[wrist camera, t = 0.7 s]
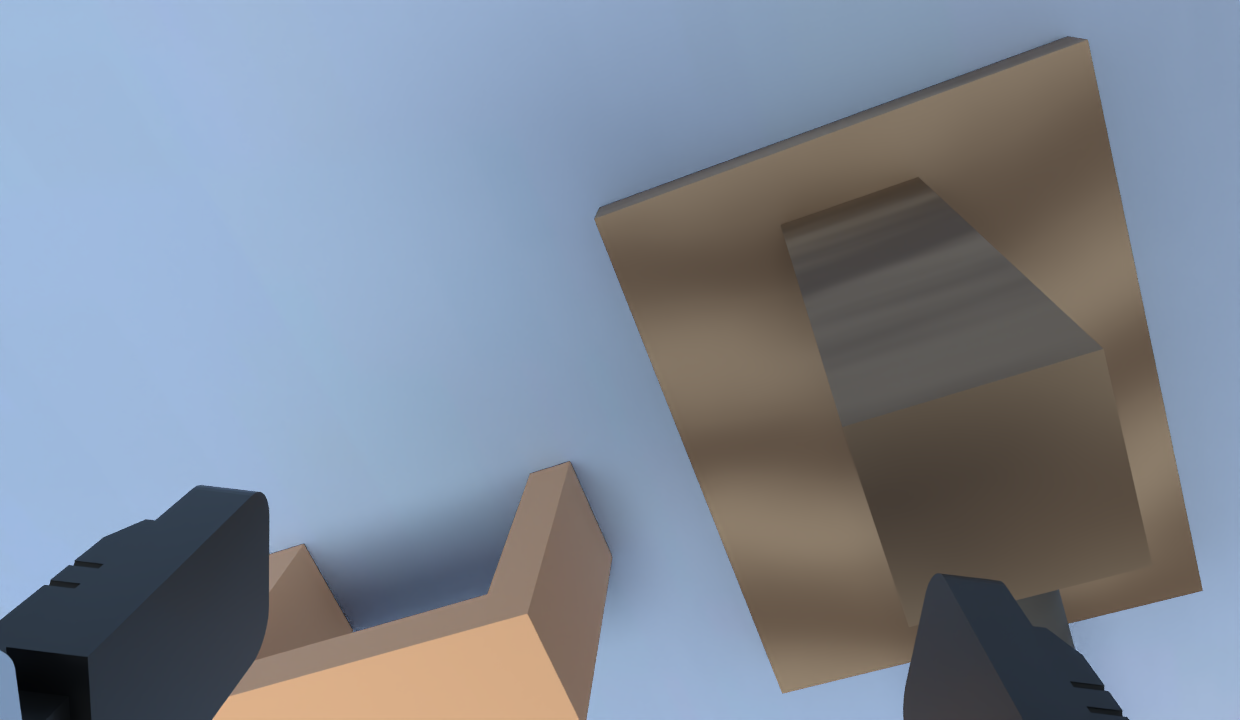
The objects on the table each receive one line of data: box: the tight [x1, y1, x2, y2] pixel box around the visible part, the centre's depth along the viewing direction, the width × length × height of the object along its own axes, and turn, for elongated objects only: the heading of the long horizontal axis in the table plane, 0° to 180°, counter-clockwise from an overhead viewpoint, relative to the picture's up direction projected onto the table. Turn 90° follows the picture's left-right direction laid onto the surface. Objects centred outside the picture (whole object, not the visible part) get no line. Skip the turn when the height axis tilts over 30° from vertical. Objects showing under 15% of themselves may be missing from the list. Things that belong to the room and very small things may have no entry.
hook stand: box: [594, 37, 1203, 694], centre depth 25 cm, size 24×14×15 cm, turn 21°
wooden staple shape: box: [212, 461, 612, 720], centre depth 31 cm, size 12×4×8 cm, turn 111°
